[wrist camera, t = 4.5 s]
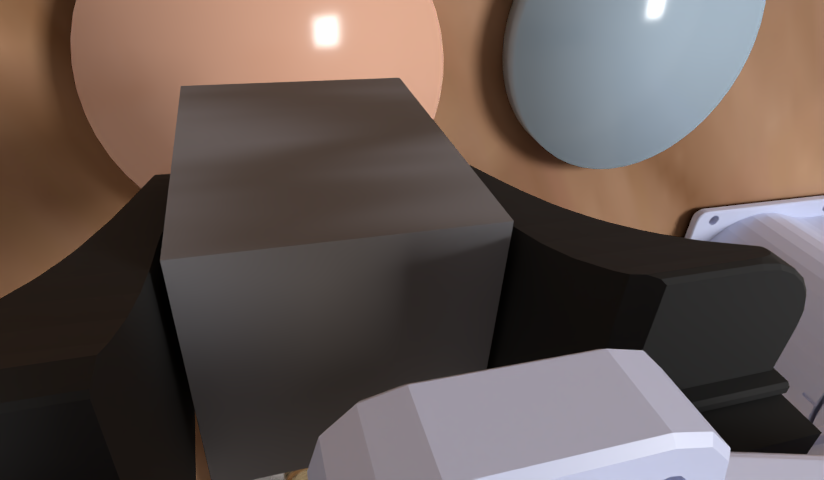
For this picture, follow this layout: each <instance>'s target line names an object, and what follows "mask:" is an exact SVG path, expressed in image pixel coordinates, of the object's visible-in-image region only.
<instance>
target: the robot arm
mask: <svg viewBox="0 0 824 480" xmlns="http://www.w3.org/2000/svg"><path fill="white" fill-rule="evenodd" d="M470 167H471V168H472V169H473V170H474V172H475V173H476V174H477V176H478V177H479V178H480V179H481V181H482V182H483V183H484V184H485V186H486V187H487V188H488V189H489V191H490V192H491V193H492V194H493V196H494V197H495V198H496V199H497V201H498V202H499V203H500V204H501V206H502V207H503V208H504V209H505V211H506V212H507V213H508V214H509V216H510V217H511V218H512V219H513V221H514V223H513V228H512V234H511V239H510V245H509V250H508V256H507V261H506V267H505V272H504V277H503V283H502V288H501V294H500V299H499V305H498V310H497V316H496V321H495V327H494V332H493V337H492V343H491V348H490V354H489V359H488V365H487V369H486V370H481V371H475V372H470V373H464V374H459V375H453V376H448V377H442V378H437V379H431V380H426V381H420V382H415V383H409V384H404V385H401V386H399V387H396V388H393V389H391V390H388V391H385V392H383V393H380V394H377V395H374V396H372V397H369V398H366V399H364V400H361V401H359V402H358V403H356V404H355V405H354V406H353V407H352V408H351V409H350V410H348V411H347V412H346V413H345V414H344V415H343V416H342V417H340V418H339V419H338V420H337V421H336V422H335V423H334V424H332V425H331V426H330V427H329V428H328V429H327V430H326V431H324V432H323V433H322V434H321V435H320V436H319V437H318V440H317V443H316V446H315V449H314V452H313V455H312V458H311V461H310V464H309V467H308V470H307V476H308V480H824V195H821V196H812V197H803V198H795V199H786V200H777V201H768V202H759V203H750V204H741V205H732V206H723V207H714V208H705V209H701V210H699V211H697V212H696V213H695V214H694V215H693V217H692V219H691V222H690V224H689V227H688V230H687V232H686V235H685V237H684V238H681V237H675V236H669V235H663V234H658V233H652V232H647V231H642V230H638V229H634V228H630V227H625V226H621V225H617V224H613V223H609V222H605V221H602V220H598V219H595V218H592V217H588V216H585V215H582V214H579V213H576V212H574V211H571V210H568V209H565V208H562V207H559V206H556V205H554V204H551V203H549V202H546V201H544V200H542V199H539V198H537V197H535V196H532V195H530V194H528V193H525V192H523V191H521V190H519V189H517V188H515V187H512V186H510V185H508V184H506V183H504V182H502V181H500V180H498V179H496V178H494V177H492V176H490V175H488V174H486V173H484V172H482V171H480V170H478V169H476V168H474V167H472V166H470ZM169 181H170V174H160V175H154V176H153V177H152V178H151V179H150V180H149V181H148V182H147V183H146V184H145V185H144V186H143V187H142V189H141V190H140V191H139V192H138V193H137V194H136V195H135V196H134V197H133V198H132V199H131V200H130V201H129V202H128V203H127V204H126V205H125V206H124V207H123V208H122V209H121V210H120V211H119V212H118V213H117V214H116V215H115V216H114V217H113V218H112V219H111V220H110V221H109V222H108V223H107V224H106V225H104V226H103V227H102V228H101V229H100V230H99V231H98V232H96V233H95V234H94V235H93V236H92V237H91V238H89V239H88V240H87V241H86V242H85V243H84V244H83V245H81V246H80V247H79V248H78V249H76V250H75V251H74V252H73V253H71V254H70V255H69V256H67V257H66V258H65V259H63V260H62V261H61V262H59V263H58V264H56V265H55V266H53V267H52V268H50V269H49V270H47V271H46V272H44V273H43V274H41V275H40V276H38V277H37V278H35V279H34V280H32V281H31V282H29V283H27V284H25V285H24V286H22V287H20V288H18V289H17V290H15V291H13V292H11V293H9V294H8V295H6V296H4V297H2V298H1V299H0V480H196V463H195V408H194V404H193V400H192V395H191V391H190V387H189V383H188V378H187V374H186V370H185V365H184V361H183V357H182V353H181V348H180V344H179V340H178V335H177V331H176V327H175V323H174V318H173V314H172V310H171V305H170V301H169V297H168V293H167V288H166V284H165V280H164V275H163V271H162V267H161V263H160V257H161V248H162V240H163V231H164V223H165V214H166V206H167V198H168V189H169Z"/></svg>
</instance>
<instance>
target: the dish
mask: <svg viewBox="0 0 824 480" xmlns="http://www.w3.org/2000/svg"><path fill="white" fill-rule="evenodd" d="M70 41H71V63H72V69H73V74H74V79H75V85H76V90H77V93H78V96H79V98H80V101H81V104H82V107H83V110H84V113H85V115H86V117H87V119H88V121H89V123H90V125H91V127H92V129H93V131H94V133H95V135H96V137H97V138H98V140H99V141H100V143H101V144H102V146H103V147H104V149H105V150H106V152H107V153H108V154H109V156H110V157H111V158H112V160H113V161H114V162H115V163H116V164H117V165H118V166H119V167H120V169H121V170H122V171H123V172H124V173H125V174H126V175H127V176H128V177H129V178H130V179H131V180H132V181H133V182H135V183H136V184H137V185H138V186H139V187H140V188H141V189H142V187H143V186H144V185H145V184H146V183H147V182H148V181H149V180H150V179H151V178H152V177H153V176H154V175H160V174H170V172H171V164H172V156H173V147H174V139H175V130H176V122H177V114H178V105H179V97H180V88H181V86H192V85H218V84H244V83H271V82H297V81H323V80H350V79H376V78H400V79H401V80H402V81H403V83H404V84H405V85H406V86H407V88H408V89H409V90H410V91H411V93H412V94H413V95H414V96H415V98H416V99H417V100H418V101H419V103H420V104H421V105H422V106H423V108H424V109H425V110H426V112H427V113H428V114H429V115H430V117H431V118H432V119H433V120H434V117H435V114H436V110H437V106H438V103H439V99H440V94H441V87H442V80H443V46H442V36H441V30H440V26H439V21H438V17H437V13H436V9H435V7H434V4H433V1H432V0H76V3H75V7H74V10H73V18H72V27H71V37H70Z"/></svg>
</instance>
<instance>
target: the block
mask: <svg viewBox="0 0 824 480" xmlns="http://www.w3.org/2000/svg"><path fill="white" fill-rule="evenodd" d="M513 223H514V221H513V219H512V218H511V217H510V216H509V214H508V213H507V212H506V211H505V209H504V208H503V207H502V206H501V204H500V203H499V202H498V201H497V199H496V198H495V197H494V196H493V194H492V193H491V192H490V191H489V189H488V188H487V187H486V186H485V184H484V183H483V182H482V181H481V179H480V178H479V177H478V176H477V174H476V173H475V172H474V170H473V169H472V168H471V167H470V165H469V164H468V163H467V162H466V160H465V159H464V158H463V157H462V155H461V154H460V153H459V152H458V150H457V149H456V148H455V147H454V145H453V144H452V143H451V142H450V140H449V139H448V138H447V137H446V135H445V134H444V133H443V132H442V130H441V129H440V128H439V127H438V125H437V124H436V123H435V122H434V120H433V119H432V118H431V117H430V115H429V114H428V113H427V112H426V110H425V109H424V108H423V106H422V105H421V104H420V103H419V101H418V100H417V99H416V98H415V96H414V95H413V94H412V93H411V91H410V90H409V89H408V88H407V86H406V85H405V84H404V83H403V81H402V80H401V79H400V78H376V79H350V80H323V81H297V82H271V83H244V84H218V85H192V86H181V88H180V97H179V105H178V114H177V122H176V130H175V139H174V147H173V156H172V164H171V172H170V181H169V189H168V198H167V206H166V214H165V223H164V231H163V240H162V248H161V257H160V263H161V267H162V271H163V275H164V280H165V284H166V288H167V293H168V297H169V301H170V305H171V310H172V314H173V318H174V323H175V327H176V331H177V335H178V340H179V344H180V348H181V353H182V357H183V361H184V365H185V370H186V374H187V378H188V383H189V387H190V391H191V395H192V400H193V404H194V408H195V412H196V417H197V421H198V425H199V430H200V434H201V438H202V442H203V447H204V451H205V455H206V460H207V464H208V468H209V472H210V477H211V480H253V479H258V478H263V477H268V476H272V475H277V474H282V473H286V472H291V471H296V470H301V469H305V468H308V467H309V464H310V461H311V458H312V455H313V452H314V449H315V446H316V443H317V440H318V437H319V436H320V435H321V434H322V433H323V432H324V431H326V430H327V429H328V428H329V427H330V426H331V425H332V424H334V423H335V422H336V421H337V420H338V419H339V418H340V417H342V416H343V415H344V414H345V413H346V412H347V411H348V410H350V409H351V408H352V407H353V406H354V405H355V404H356V403H358V402H359V401H361V400H364V399H366V398H369V397H372V396H374V395H377V394H380V393H383V392H385V391H388V390H391V389H393V388H396V387H399V386H401V385H404V384H409V383H415V382H420V381H426V380H431V379H437V378H442V377H448V376H453V375H459V374H464V373H470V372H475V371H481V370H486V369H487V365H488V359H489V354H490V348H491V343H492V337H493V332H494V327H495V321H496V316H497V310H498V305H499V299H500V294H501V288H502V283H503V277H504V272H505V267H506V261H507V256H508V250H509V245H510V239H511V234H512V228H513Z"/></svg>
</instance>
